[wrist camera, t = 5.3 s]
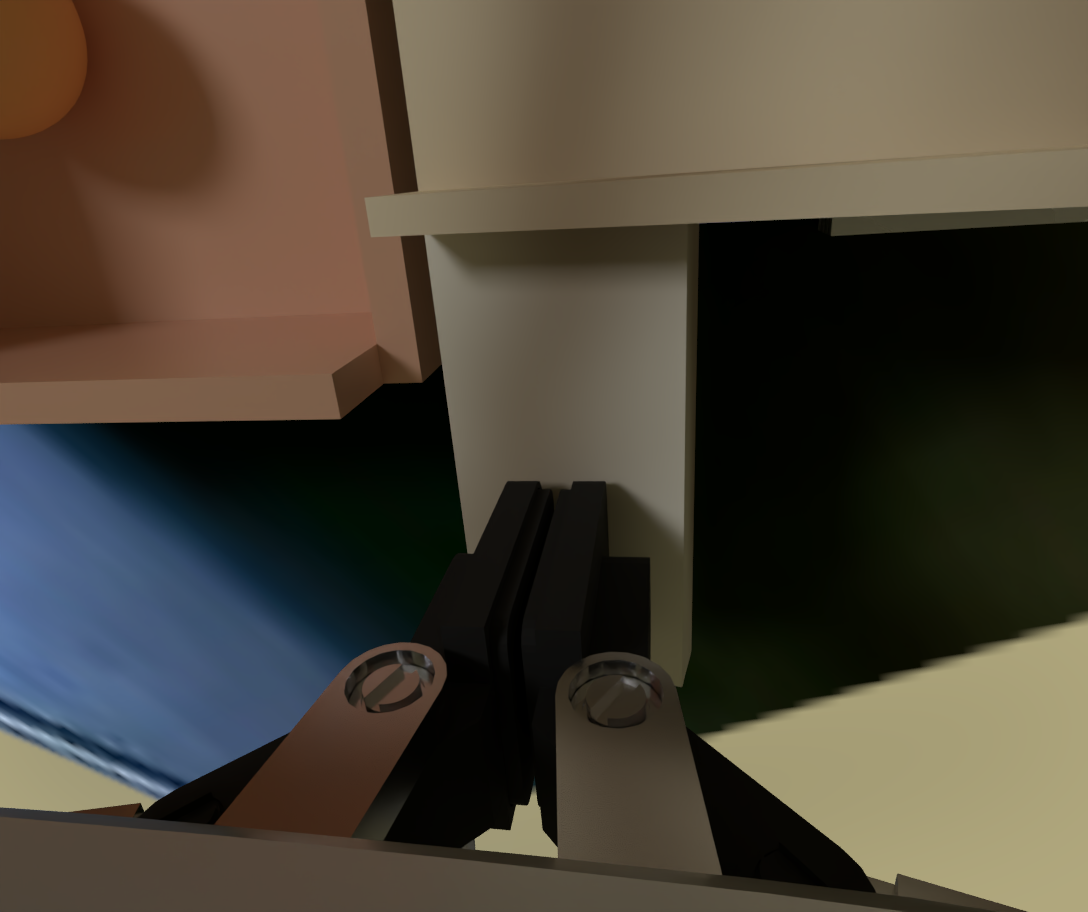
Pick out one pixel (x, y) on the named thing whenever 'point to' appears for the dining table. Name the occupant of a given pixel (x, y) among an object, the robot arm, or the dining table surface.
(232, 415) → the pink open box
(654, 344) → the tray
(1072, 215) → the pivot stand
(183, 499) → the dining table surface
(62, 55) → the ball
